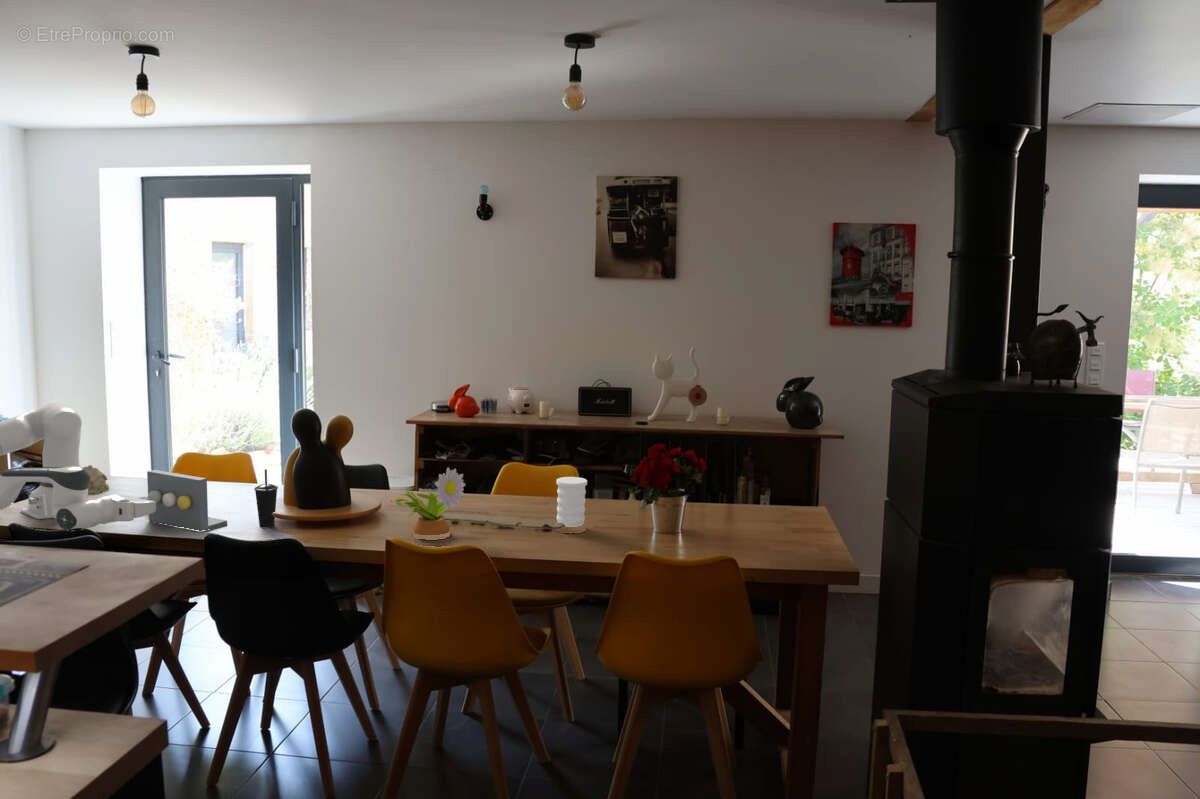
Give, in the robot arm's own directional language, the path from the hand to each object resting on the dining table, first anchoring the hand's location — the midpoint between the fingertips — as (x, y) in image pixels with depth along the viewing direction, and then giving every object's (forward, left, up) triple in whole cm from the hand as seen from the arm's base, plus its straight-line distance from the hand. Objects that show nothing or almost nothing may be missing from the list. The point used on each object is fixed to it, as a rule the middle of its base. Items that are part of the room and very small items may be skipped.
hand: (148, 499), depth 297 cm
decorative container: (+125, +71, -10) cm, 144 cm away
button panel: (+7, +10, -10) cm, 15 cm away
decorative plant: (+86, +42, -10) cm, 96 cm away
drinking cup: (+32, +21, -10) cm, 39 cm away
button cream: (+7, +3, -2) cm, 8 cm away
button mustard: (+14, +3, -2) cm, 14 cm away
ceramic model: (-63, +24, -10) cm, 68 cm away
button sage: (0, +3, -2) cm, 3 cm away
